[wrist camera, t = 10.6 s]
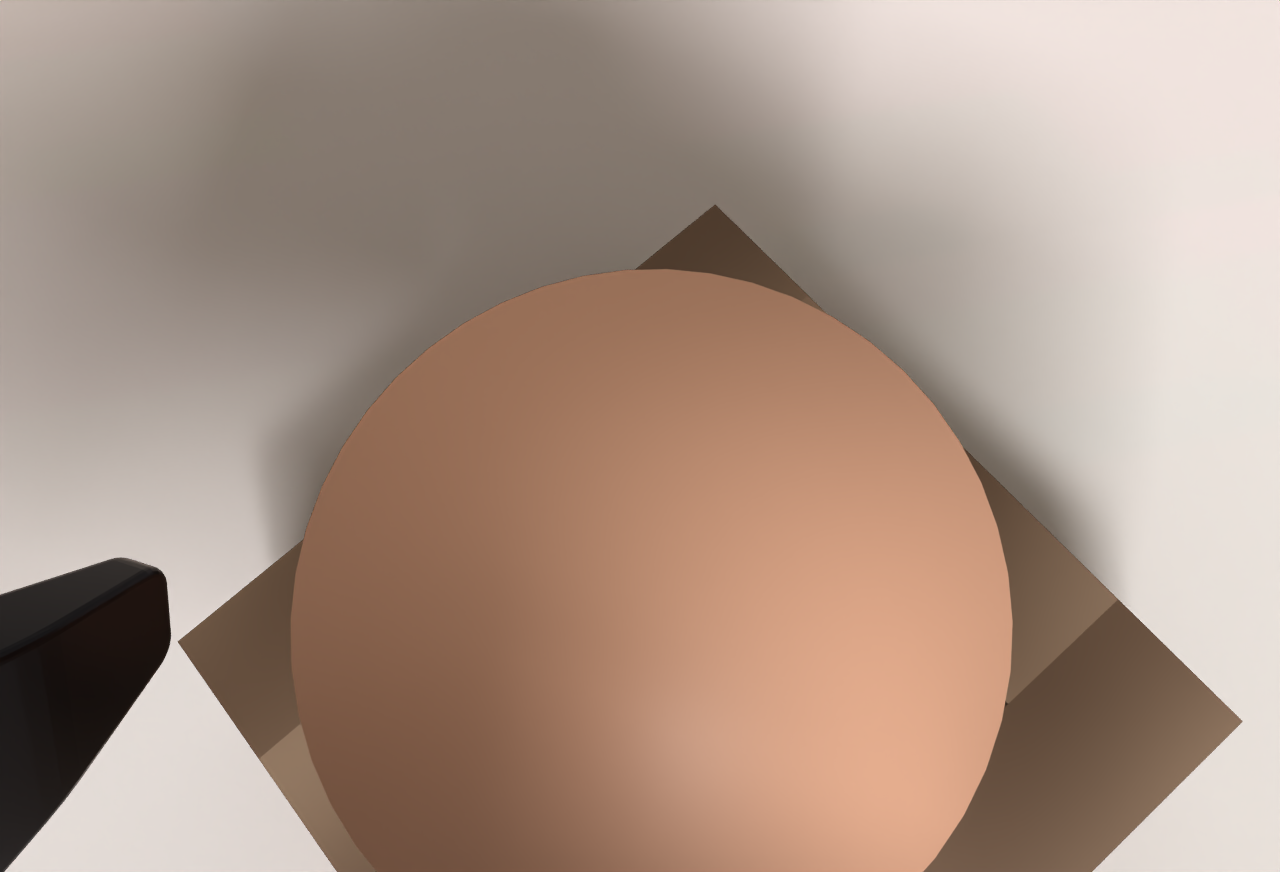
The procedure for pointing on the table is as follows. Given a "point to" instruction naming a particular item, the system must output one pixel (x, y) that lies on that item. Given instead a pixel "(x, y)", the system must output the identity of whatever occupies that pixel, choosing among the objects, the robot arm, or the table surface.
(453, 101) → the table surface
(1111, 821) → the socket
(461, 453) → the peg
